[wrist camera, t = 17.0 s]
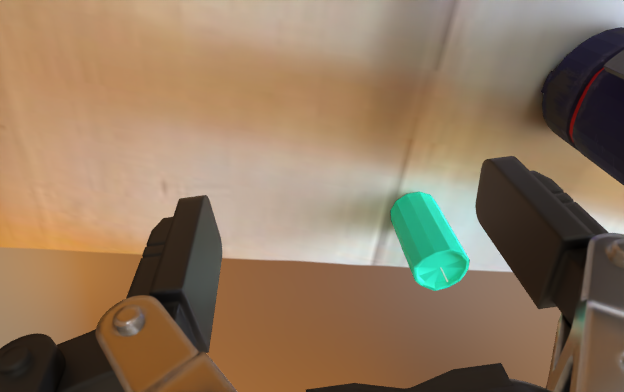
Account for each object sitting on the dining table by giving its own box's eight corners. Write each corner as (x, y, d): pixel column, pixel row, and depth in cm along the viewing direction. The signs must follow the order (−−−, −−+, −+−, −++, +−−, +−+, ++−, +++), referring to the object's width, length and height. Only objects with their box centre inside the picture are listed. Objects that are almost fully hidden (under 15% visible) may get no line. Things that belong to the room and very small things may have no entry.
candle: (412, 183, 49) (448, 251, 39) (446, 205, 51) (488, 274, 41) (380, 217, 51) (406, 288, 41) (413, 236, 54) (446, 308, 44)
